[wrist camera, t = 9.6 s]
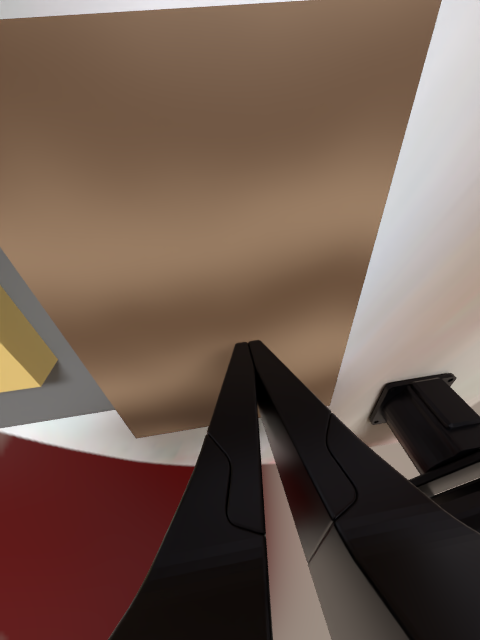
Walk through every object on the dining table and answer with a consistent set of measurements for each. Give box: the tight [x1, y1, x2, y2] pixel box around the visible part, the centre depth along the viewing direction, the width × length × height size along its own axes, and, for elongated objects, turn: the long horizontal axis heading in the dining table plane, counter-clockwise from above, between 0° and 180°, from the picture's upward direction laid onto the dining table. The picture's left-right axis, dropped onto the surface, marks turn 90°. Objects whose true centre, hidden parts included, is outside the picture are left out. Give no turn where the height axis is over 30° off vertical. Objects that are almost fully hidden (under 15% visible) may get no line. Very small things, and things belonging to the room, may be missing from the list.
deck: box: [0, 0, 442, 438], centre depth 11 cm, size 16×12×4 cm
